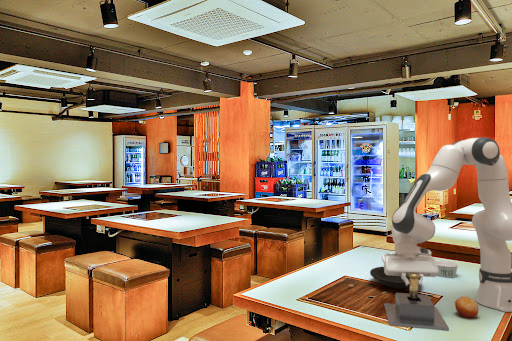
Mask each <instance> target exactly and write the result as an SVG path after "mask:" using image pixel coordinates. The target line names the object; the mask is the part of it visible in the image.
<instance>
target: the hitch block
mask: <svg viewBox="0 0 512 341" xmlns="http://www.w3.org/2000/svg"><path fill="white" fill-rule="evenodd" d="M383 304H384V305H383V306H384V309H385V313H386V316H387V321H388V324H389V326H396V327H406V328H418V329H419V328H420V329H427V330H437V331H439V330H440V331H448V332H449V331H450V327H449V325H448V324H447V323H446V320H445V319H444V317H443V316H442V314H441V313H440V311H439V309H438V308H437V307H436V306H435V305H434V303H433V301H432V300H431V298H430V296H429V295H428V294H419V293H418V298H417V299H414V298H410V293H404V292H395V303H383Z"/></svg>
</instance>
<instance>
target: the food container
mask: <svg viewBox="0 0 512 341" xmlns="http://www.w3.org/2000/svg"><path fill="white" fill-rule="evenodd" d="M435 261H436V263H437V266H438V269H439V273H438V275H437V276H436V277H440V278H445V279H454V278H456V276H457V270H458V267H459V263H457V262H454V261H449V260H435Z"/></svg>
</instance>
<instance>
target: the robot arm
mask: <svg viewBox="0 0 512 341" xmlns="http://www.w3.org/2000/svg"><path fill="white" fill-rule="evenodd" d="M500 151H501V150H500V146H499V144H498V142H497V141H496V140H494V139H493V138H490V137H486V136H485V137H484V136H483V137H482V136H481V137H472V138H471V137H470V138H467V139H464V140H457V141H455V142H453V143H452V144H446V145H445V144H444V145H443V146H442V147H441V148H440V149H439V151H437V153H436V154H435V157H434V159H433V161H432V162H431V165H429V166H430V167H429V168H428V170H427V171H426V172H425V173H423V174H421V175H420V176H418V178H416V180H415V182H414V183H413V184H412V186H411V188H410V189H409V191H408V193H407V194H406V195H405V197H404V199H403V201H402V202H401V203H400V206H399V207H398V208H397V209H396V210H395V211H394V212H393V214H392V216H391V236H392V241H393V243H394V251H395V253H394V252H393V253H389V252H388V253H387V252H385V253H384V254H382V256H381V259H382V260H381V261H382V262H383V267H384V272H385V274H386V275H391V276H401V278H402V279H403V280H404V282H405V284H406V286H410V285H411V282H410V280H408V279H407V278H406V277H405V276H409V273H418V274H419V279H420V280H418V287H423V280H424V278H425V277H426V278H436V277H438V276H437V275H438V273H439V269H438V266H437V263H436V261H437V260H436V259H435V258H434V257H433V256H432V251H431V250H430V249H427V248H424V247H421V246H418V244H422V243H425V242H427V241H429V240H431V239H432V238H433V237H434V236H435V233H436V226H435V223H434V221H432V220H431V219H429V218H427V217H426V216H424V215H422V214H419V213H417V212H416V211H417V208H418V207H419V205H420V203H421V202H422V200H423V198H424V196H425V195H426V194H427V193H428V192H432V191H436V192H437V191H438V192H443V191H448V190H450V189H451V188H452V187H454V185H455V184H456V182H457V180H458V178H459V174H460V172H461V169H462V167H464V165H465V166H466V165H467V166H474V167H475V168H476V179H477V180H476V181H477V192H478V193H477V194H478V198H479V201H480V202H481V203H482V206H483V209H484V210H479V211H477V212H476V213H474V214H473V216H472V218H471V224H472V227H473V228H474V230H475V232H476V236H477V239H478V240H477V241H478V244H479V249H480V251H479V253H480V268H479V270H478V280H479V286H478V292H477V295H476V298H475V302H476V303H477V304H480V305H482V306H485V307H487V308H491V309H495V310H498V311H501V312H506V313H507V312H509V313H510V312H511V313H512V252H511V250H510V248H509V247H508V244H507V242H508V241H512V199H511V196H510V188H509V187H510V186H509V177H508V176H509V175H508V168H507V165H506V162H505V159H504V157H503V155H501V152H500ZM422 279H423V280H422Z"/></svg>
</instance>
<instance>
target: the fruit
mask: <svg viewBox="0 0 512 341" xmlns="http://www.w3.org/2000/svg"><path fill="white" fill-rule="evenodd" d="M454 306H455V309H456V313H458V315H460V316H461V317H462V318H474V317H475V318H476V316H478V315H479V303H478V302H477V301H476V300H474V299H472V298H470V297H468V296H461V297H459V298H457V299H456V300H454Z"/></svg>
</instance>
